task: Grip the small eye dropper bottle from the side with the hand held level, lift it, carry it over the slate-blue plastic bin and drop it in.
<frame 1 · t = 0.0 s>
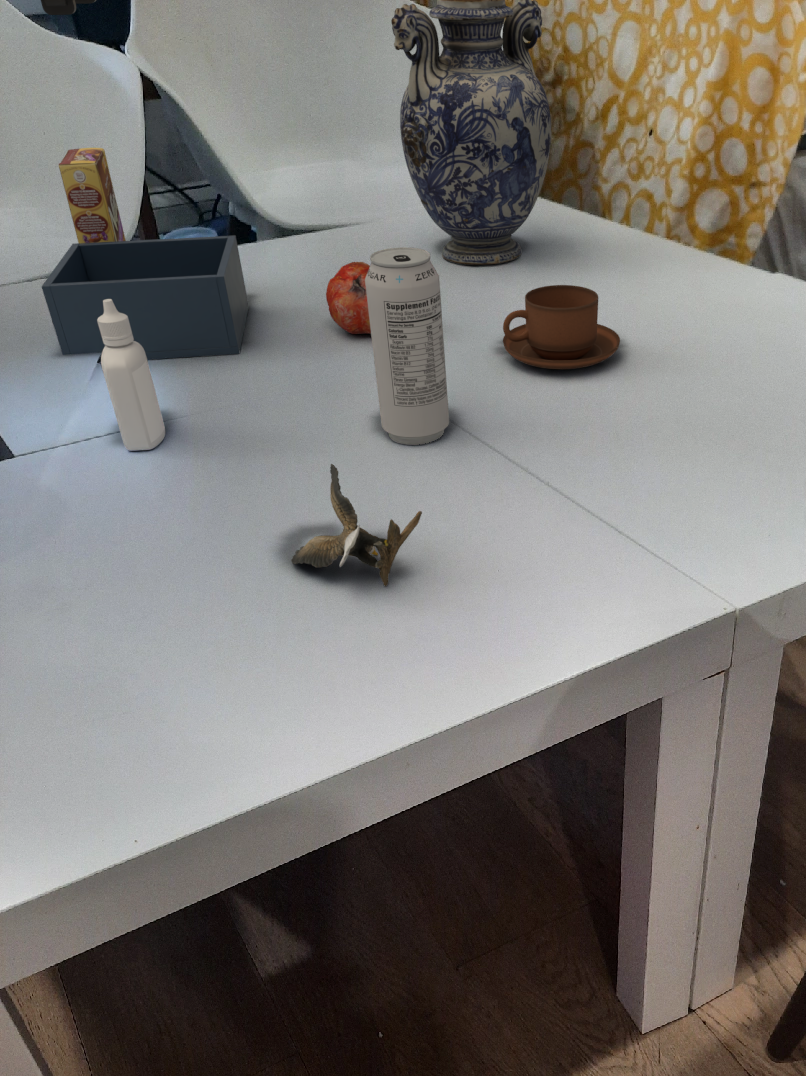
hand: (72, 8, 76), 31 cm above the table, tool pointing down, fingers open, 8 cm apart
bin: (163, 334, 111), on the table
eye dropper bottle: (146, 441, 90), on the table
energy drink can: (416, 435, 90), on the table
candy box: (118, 299, 121), on the table
cup and saucer: (561, 359, 104), on the table
eagle figurine: (352, 567, 73), on the table
decorative vase: (481, 256, 134), on the table
pomegranate: (364, 332, 111), on the table
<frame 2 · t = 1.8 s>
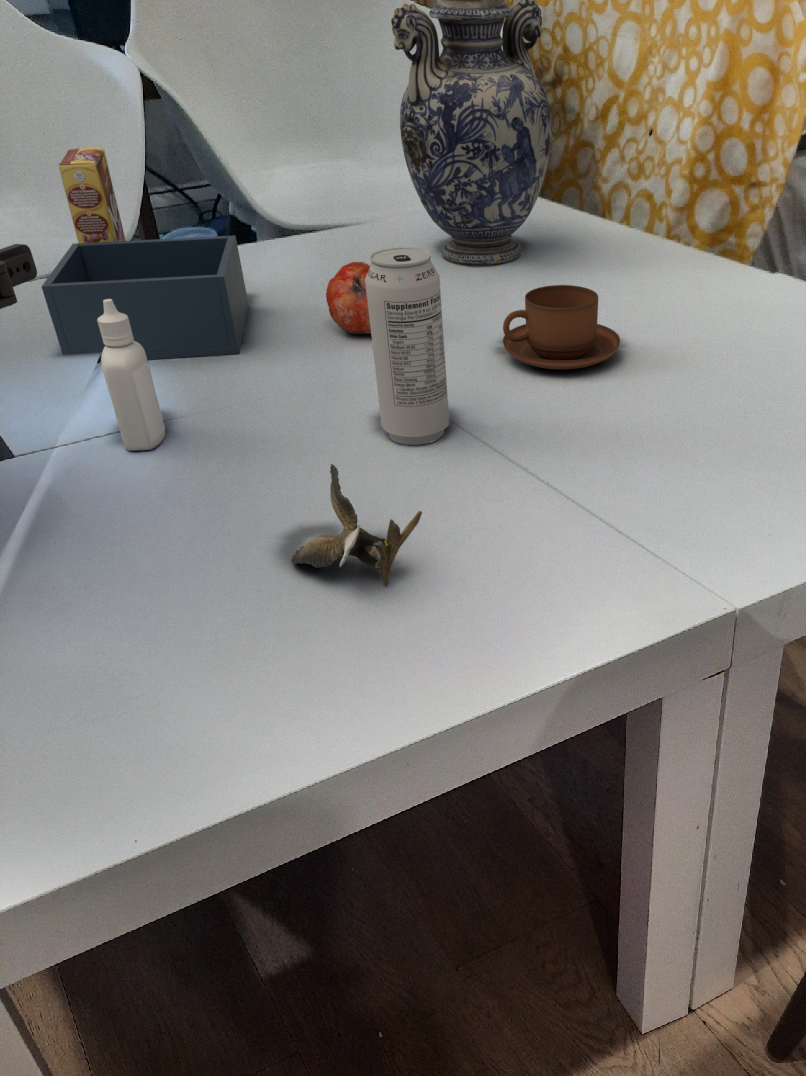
nothing on the table moved.
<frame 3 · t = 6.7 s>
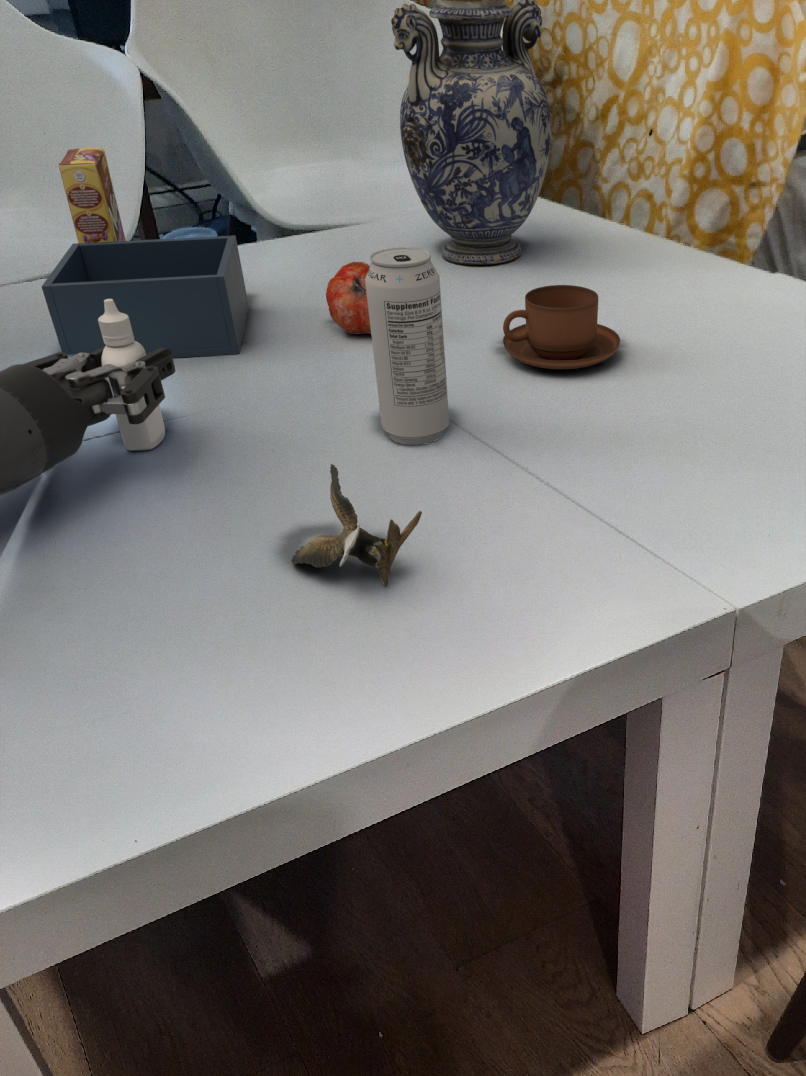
hand: (146, 356, 88), 7 cm above the table, tool horizontal, fingers closed on eye dropper bottle, 4 cm apart
eye dropper bottle: (146, 441, 90), on the table, touching gripper
everything else where it was.
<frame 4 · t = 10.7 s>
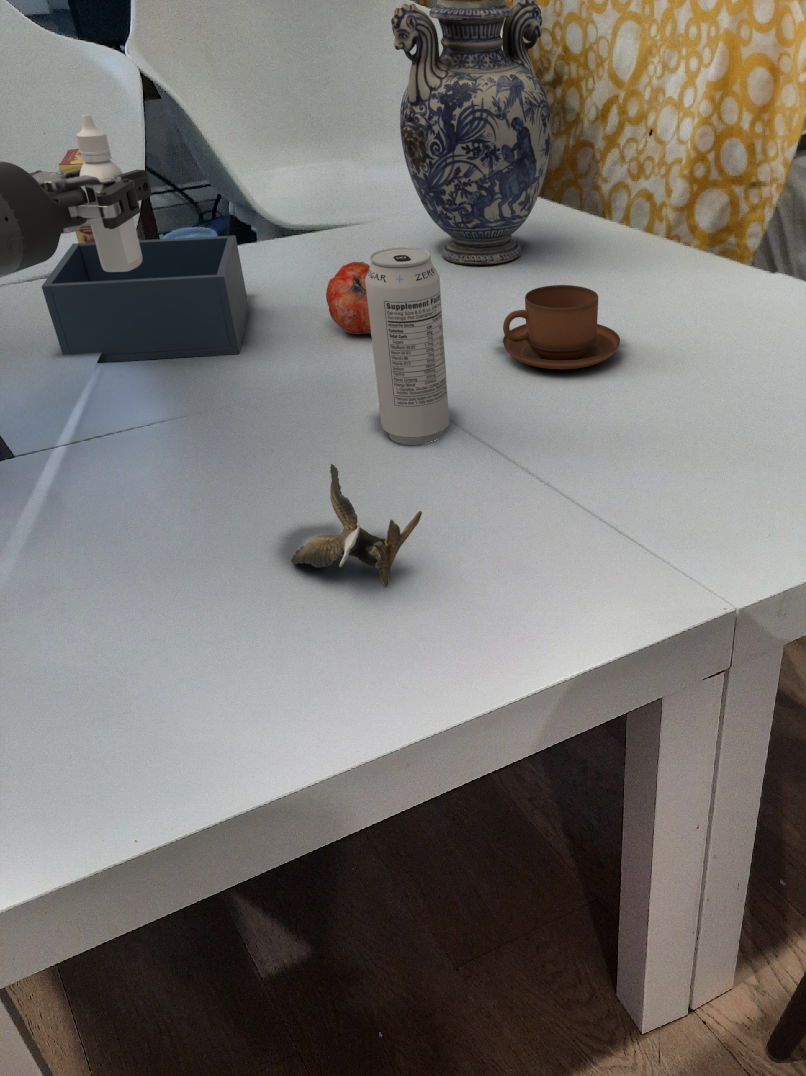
hand: (123, 180, 91), 18 cm above the table, tool horizontal, fingers closed on eye dropper bottle, 4 cm apart
eye dropper bottle: (123, 267, 93), point 11 cm above the table, touching gripper
everything else where it was.
when the fingers open (10 cm above the table, at t = 15.0 s): eye dropper bottle drops 2 cm, resting on bin.
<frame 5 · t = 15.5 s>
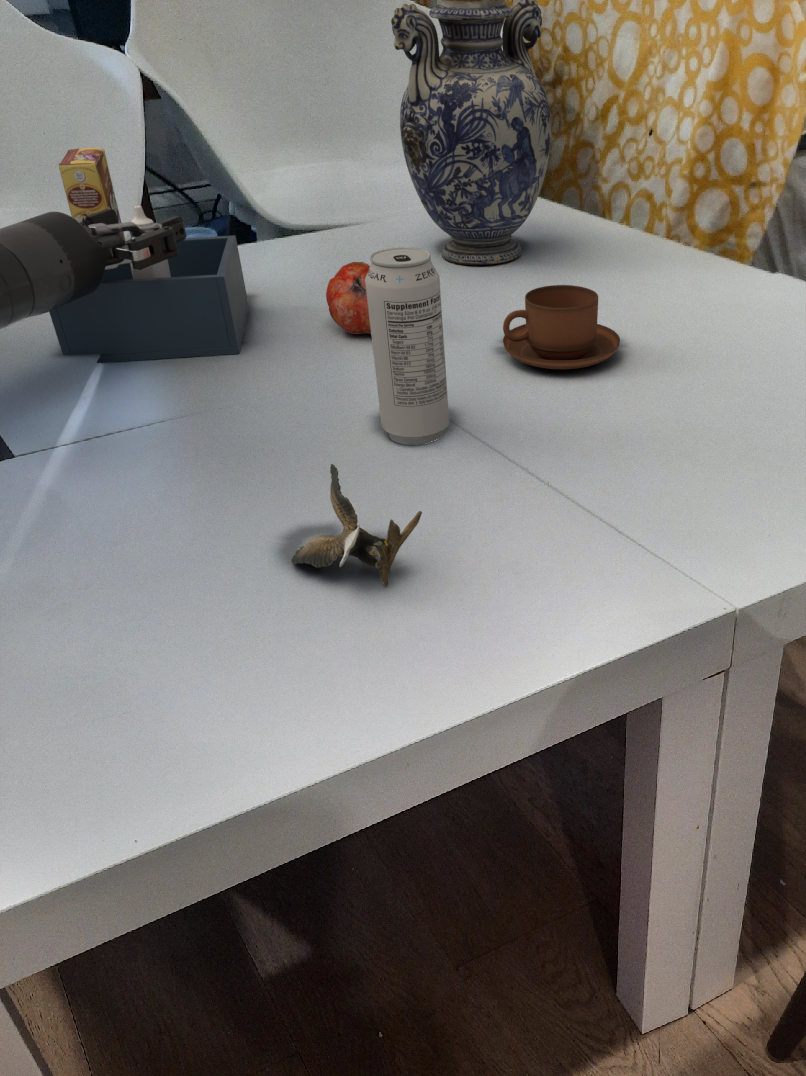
hand: (148, 223, 105), 11 cm above the table, tool horizontal, fingers open, 8 cm apart
eye dropper bottle: (162, 328, 110), point 1 cm above the table, touching bin
everything else where it was.
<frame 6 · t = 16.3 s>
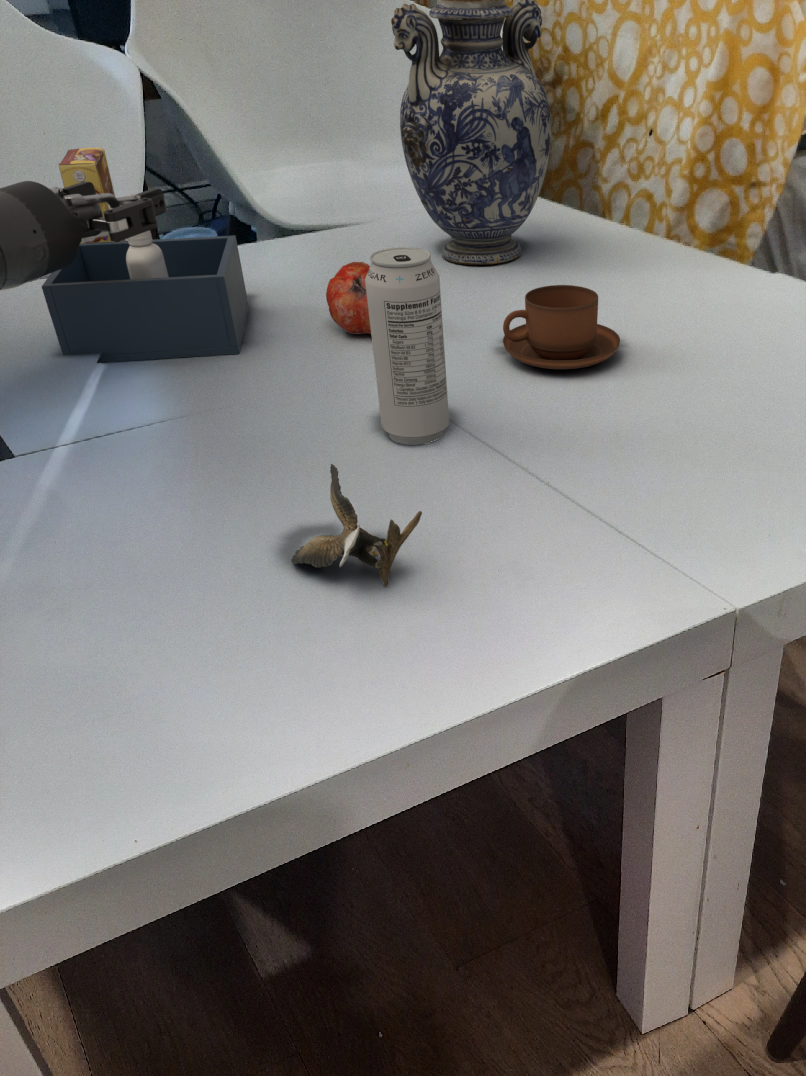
hand: (126, 196, 102), 14 cm above the table, tool horizontal, fingers open, 8 cm apart
nothing on the table moved.
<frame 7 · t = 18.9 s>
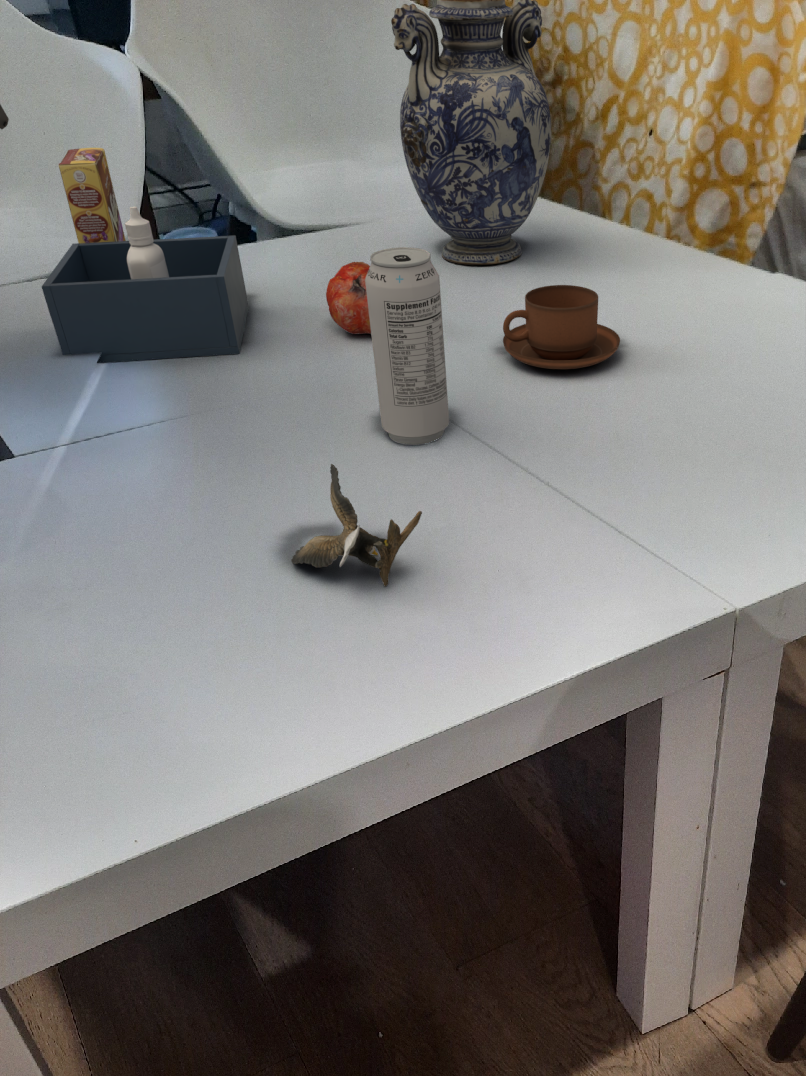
nothing on the table moved.
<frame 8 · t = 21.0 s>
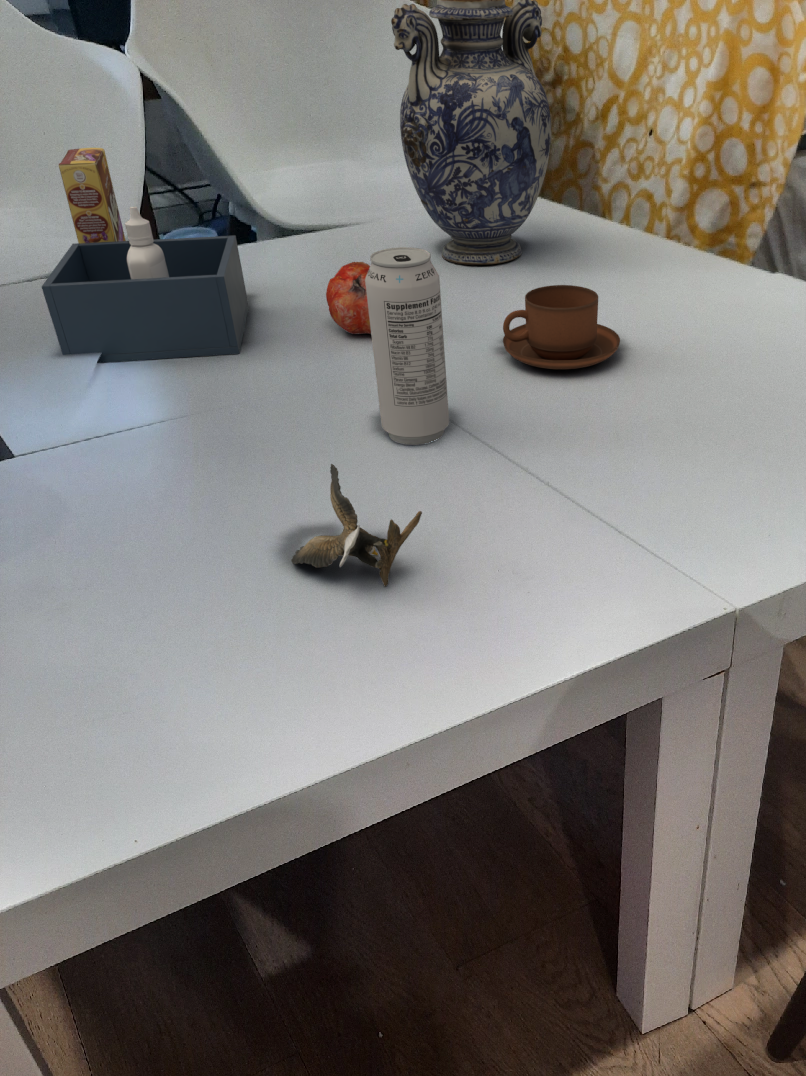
nothing on the table moved.
at the end: eye dropper bottle inside the target area in the bin (0.2 cm from its centre), point 0.6 cm above the bin's base; the gripper is holding nothing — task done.
